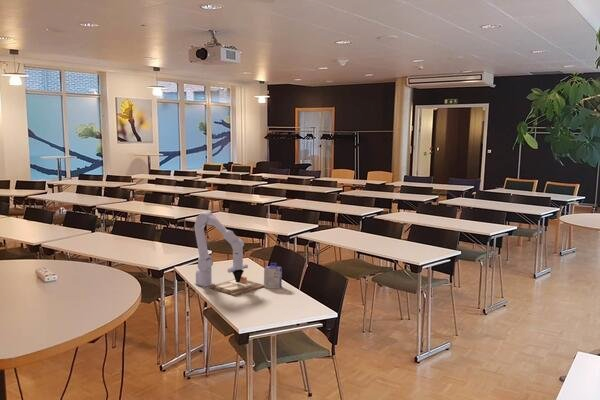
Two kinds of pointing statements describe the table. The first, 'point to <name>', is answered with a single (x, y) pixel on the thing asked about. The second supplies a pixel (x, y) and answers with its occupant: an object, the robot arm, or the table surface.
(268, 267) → the ink cartridge box
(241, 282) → the stub
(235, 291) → the board
